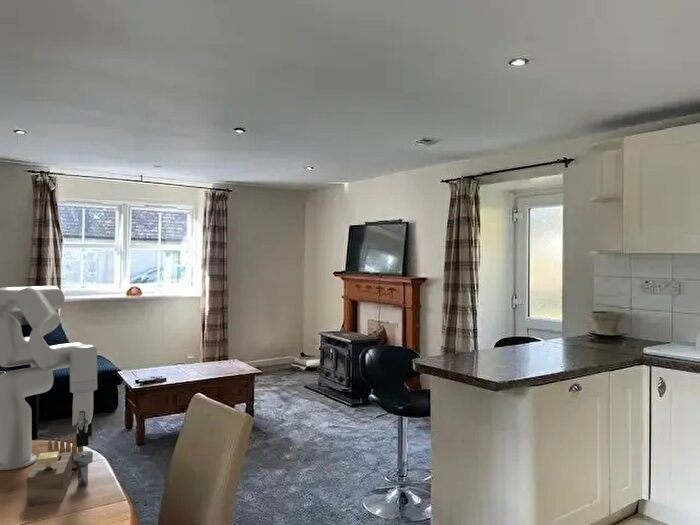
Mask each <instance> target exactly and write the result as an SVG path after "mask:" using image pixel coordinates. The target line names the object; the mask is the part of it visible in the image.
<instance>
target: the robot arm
mask: <svg viewBox="0 0 700 525" xmlns="http://www.w3.org/2000/svg"><path fill="white" fill-rule="evenodd" d="M65 301H66V299H65V294H64V292H63V290H62V289H61V288H59V287H57V286H55V285H42V286H41V285H40V286H39V285H37V286H36V285H35V286H34V285H33V286H8V287H6V286H4V287H0V367H1V368H11V367H12V368H13V367H19V366H25V365H30V367H28V368H20V369H15V370H14V369H13V370H9V371H6V372H4V373H2V374H0V471H10V470H11V471H12V470H18V469H21V468H25V467H28V466H31V465H32V464H35V463H36V461H37V458H38V456H37V455H36V454H34V453H32V448H33V447H32V430H33V427H32V426H33V424H32V420H33V418H32V412H33V411H32V407H31V405H30V404H29V403H28V402H27V401H26V400H25V398H27V397H30V396H31V397H32V396H34V395H38V394H39V395H40V394H43V393H46V392H48V391H50V390H51V388H52V387H53V385H54V374H53V373H54V372H53V371H57V370H61V369H67V368H69V392H70V393H72V394H73V396H72V417H71V418H72V422H71V423H72V426H73V427H76V434H75V435H76V446H77V448H78V447H83V448H84V447H88V446H89V441H90V440H89V437H92V435H93V426H92V425H93V424H92V420H93V415H94V391H97V390H98V350H97V347H96V346H95V345H94V344H84V343H82V342H77V341H76V342H70V343H69V342H68V343H59V344H54V345H53V344H52V345H49V344H48V343H47V341H46V340H45V339H44V337H45V336H46V335H49V334H50V333H51V332H53V331H55V329H57V327H58V326H59V325H60V323H61V316H60V315H59V313H58V312H57V310H60V309H62V307H63V306H64V304H65ZM12 312H13V313H14V312H21V313H22V315H23V316H24V318H25V320H26V322H27V323H28V324H29V326H30V327H31V329H32V330H31V331H30V333H29V336H25V337H24V335H23V331H22V326H21V323H20V321H19V320H18V319H17V318H16V317H15V316H14V315H12ZM76 425H77V426H76Z"/></svg>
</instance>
